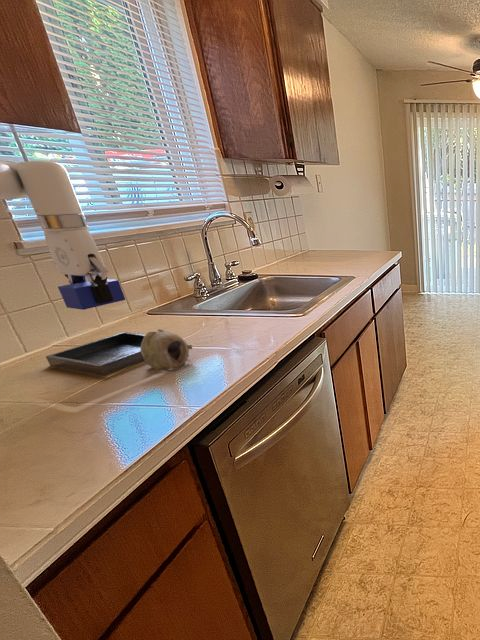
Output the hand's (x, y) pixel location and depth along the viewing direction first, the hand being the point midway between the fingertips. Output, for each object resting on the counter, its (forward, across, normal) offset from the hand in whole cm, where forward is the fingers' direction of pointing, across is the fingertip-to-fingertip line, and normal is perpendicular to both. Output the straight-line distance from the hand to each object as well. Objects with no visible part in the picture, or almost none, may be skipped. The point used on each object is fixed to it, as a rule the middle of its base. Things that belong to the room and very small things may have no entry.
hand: (95, 300), depth 97 cm
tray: (+15, +1, -1) cm, 15 cm away
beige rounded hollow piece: (+15, +19, 0) cm, 24 cm away
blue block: (+1, 0, 0) cm, 1 cm away
